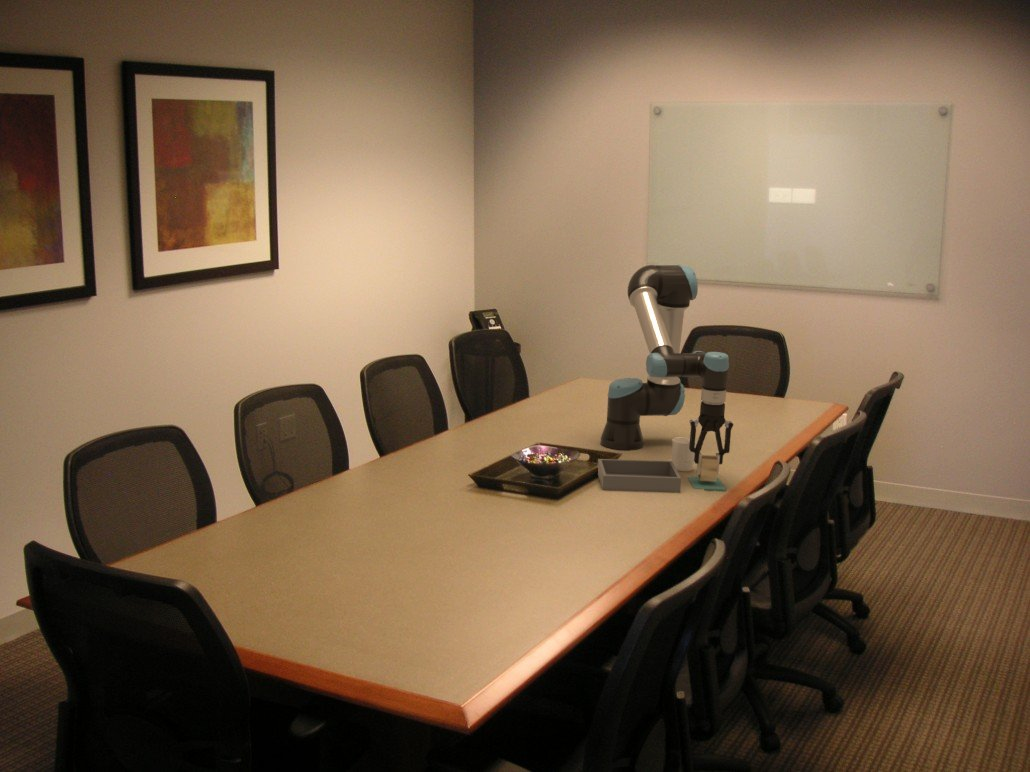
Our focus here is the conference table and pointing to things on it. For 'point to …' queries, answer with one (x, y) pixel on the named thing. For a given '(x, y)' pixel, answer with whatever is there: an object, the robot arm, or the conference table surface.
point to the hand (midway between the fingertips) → (707, 473)
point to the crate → (638, 475)
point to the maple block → (708, 468)
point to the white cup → (682, 454)
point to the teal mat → (707, 484)
